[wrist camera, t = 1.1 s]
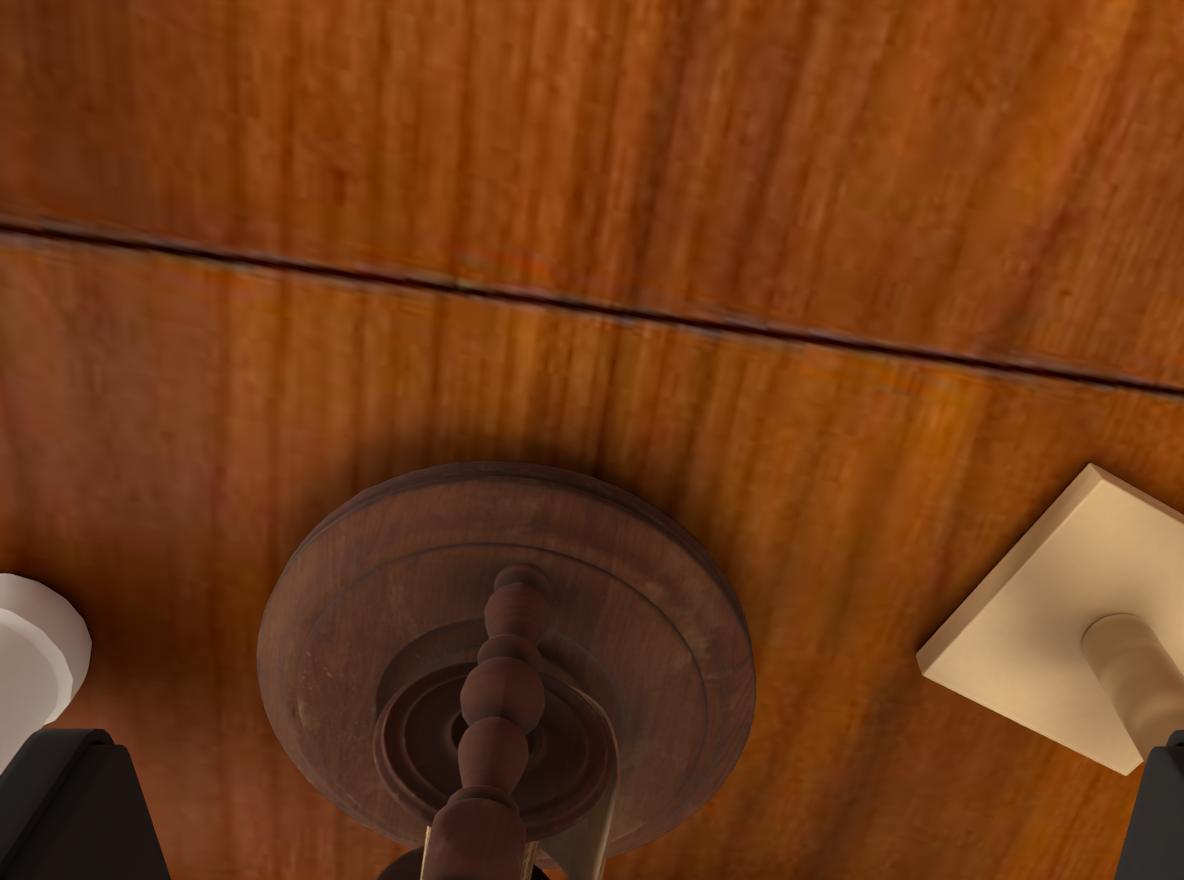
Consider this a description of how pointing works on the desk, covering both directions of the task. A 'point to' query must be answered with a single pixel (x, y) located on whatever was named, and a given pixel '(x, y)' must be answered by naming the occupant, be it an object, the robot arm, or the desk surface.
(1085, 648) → the wooden peg stand
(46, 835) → the robot arm
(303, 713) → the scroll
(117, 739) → the desk surface
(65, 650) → the bottle
